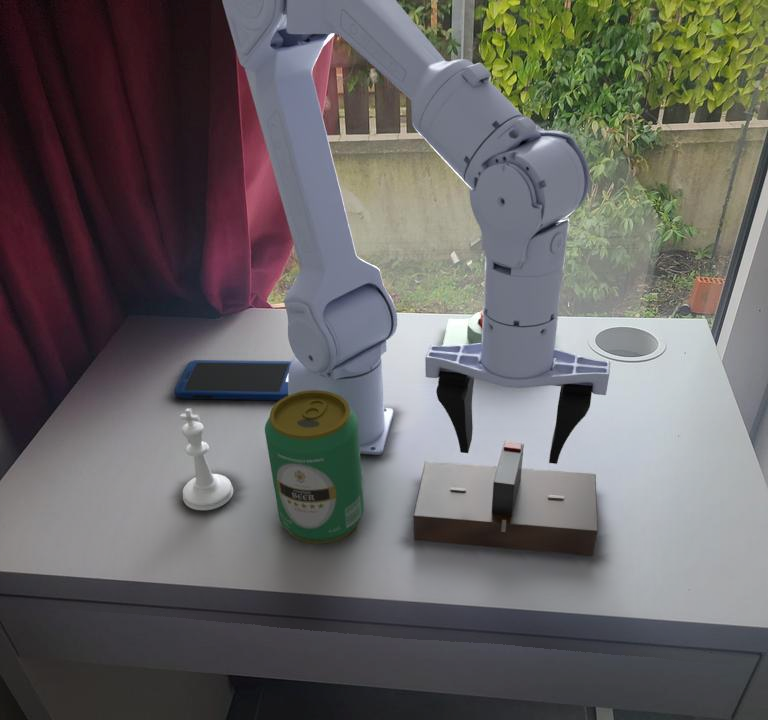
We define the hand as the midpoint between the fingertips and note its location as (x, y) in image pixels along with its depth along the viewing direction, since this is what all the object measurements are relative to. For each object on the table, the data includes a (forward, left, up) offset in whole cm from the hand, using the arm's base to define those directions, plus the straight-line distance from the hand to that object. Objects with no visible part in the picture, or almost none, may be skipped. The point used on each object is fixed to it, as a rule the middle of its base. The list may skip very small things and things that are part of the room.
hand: (509, 451), depth 71 cm
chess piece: (-29, 0, -8) cm, 30 cm away
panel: (0, 0, -8) cm, 8 cm away
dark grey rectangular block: (0, 0, -5) cm, 5 cm away
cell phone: (-32, +20, -8) cm, 38 cm away
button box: (-3, +30, -8) cm, 31 cm away
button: (-3, +30, -4) cm, 30 cm away
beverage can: (-17, -2, -8) cm, 19 cm away
